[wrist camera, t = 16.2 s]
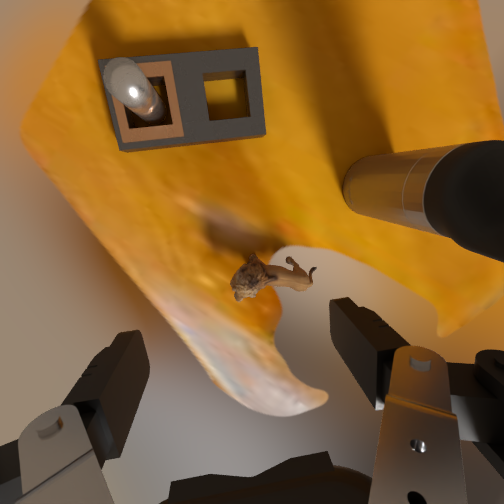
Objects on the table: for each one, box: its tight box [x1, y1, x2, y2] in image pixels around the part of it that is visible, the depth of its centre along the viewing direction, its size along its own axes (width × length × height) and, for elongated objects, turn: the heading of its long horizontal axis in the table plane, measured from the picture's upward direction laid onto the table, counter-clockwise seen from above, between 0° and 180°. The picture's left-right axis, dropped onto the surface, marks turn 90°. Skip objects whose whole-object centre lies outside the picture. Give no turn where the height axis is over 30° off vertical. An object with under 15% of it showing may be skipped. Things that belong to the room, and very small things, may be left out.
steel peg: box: [103, 57, 167, 125], centre depth 31 cm, size 4×4×12 cm
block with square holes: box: [98, 47, 266, 152], centre depth 35 cm, size 19×10×3 cm, turn 97°
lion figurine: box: [230, 254, 316, 302], centre depth 40 cm, size 15×5×9 cm, turn 90°
